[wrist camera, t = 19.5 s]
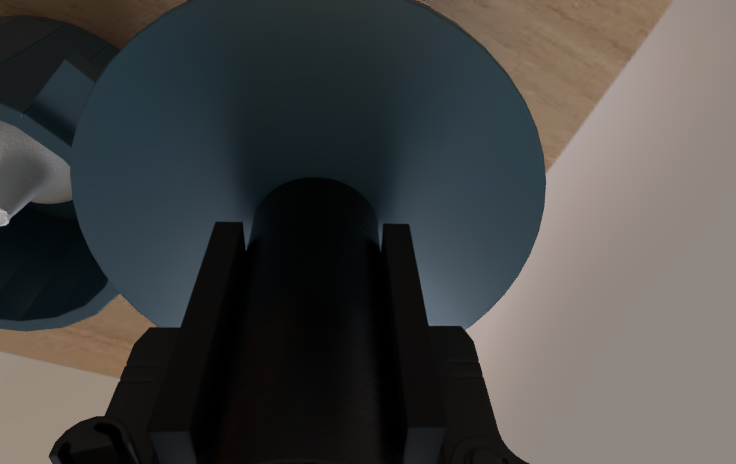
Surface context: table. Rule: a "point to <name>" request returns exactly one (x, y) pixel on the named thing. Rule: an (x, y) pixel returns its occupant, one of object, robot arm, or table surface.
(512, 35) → the table surface
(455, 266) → the lid
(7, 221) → the garlic bulb
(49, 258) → the pot
